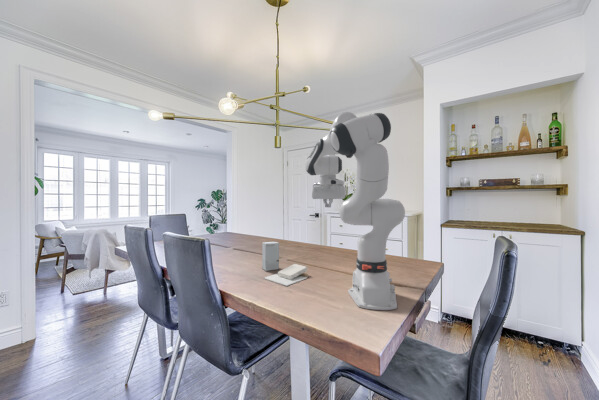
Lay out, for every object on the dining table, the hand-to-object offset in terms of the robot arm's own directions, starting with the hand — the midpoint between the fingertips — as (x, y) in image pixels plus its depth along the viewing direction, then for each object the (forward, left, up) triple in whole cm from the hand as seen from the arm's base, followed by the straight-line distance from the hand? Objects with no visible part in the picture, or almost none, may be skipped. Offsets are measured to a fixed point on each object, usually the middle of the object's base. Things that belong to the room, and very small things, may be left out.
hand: (328, 207), depth 136 cm
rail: (-11, +16, -34) cm, 39 cm away
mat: (-17, +21, -34) cm, 44 cm away
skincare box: (-2, +32, -34) cm, 47 cm away
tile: (-8, +14, -31) cm, 35 cm away
